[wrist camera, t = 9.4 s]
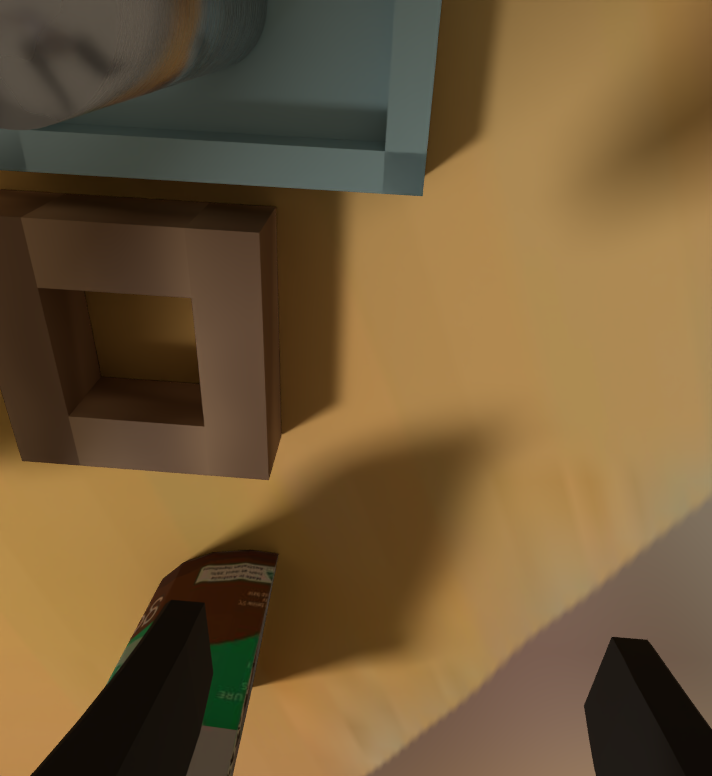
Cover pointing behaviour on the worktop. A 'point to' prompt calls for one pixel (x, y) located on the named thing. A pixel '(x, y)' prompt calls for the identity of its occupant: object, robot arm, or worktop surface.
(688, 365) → the worktop surface
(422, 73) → the tray
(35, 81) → the pin
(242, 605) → the food container
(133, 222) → the holder
